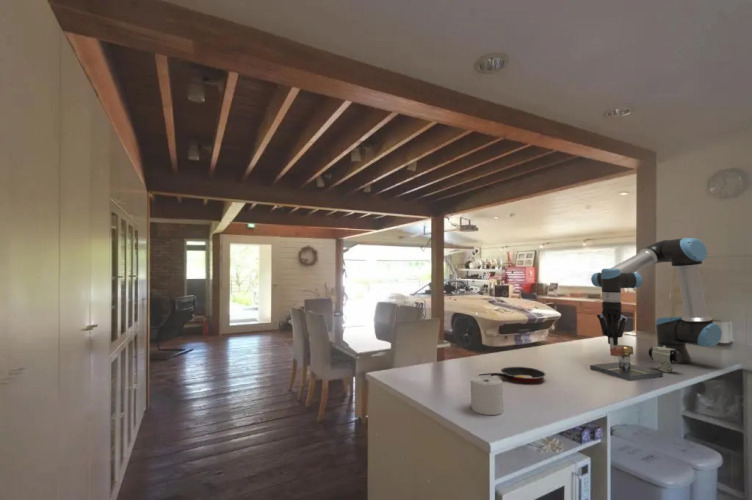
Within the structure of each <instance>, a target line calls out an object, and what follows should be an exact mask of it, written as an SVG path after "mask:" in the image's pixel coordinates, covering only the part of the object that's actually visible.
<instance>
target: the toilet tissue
mask: <svg viewBox="0 0 752 500" xmlns="http://www.w3.org/2000/svg"><path fill="white" fill-rule="evenodd" d="M479 375H480V374H479ZM479 375H475V376H472V377H471V378H470V401H471V403H470V405H471V406H470V407H471V409H472V411H474V412H475V413H477V414H481V415H485V416H486V415H487V416H496V415H497V416H498V415H502V414H503V413H504V397H503V392H504V390H503V389H504V388H503V380H502V379H501V378H497V377H495V376H491V374H490V375H480V376H479Z"/></svg>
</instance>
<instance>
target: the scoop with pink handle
mask: <svg viewBox="0 0 752 500" xmlns="http://www.w3.org/2000/svg"><path fill="white" fill-rule="evenodd" d="M609 351H611V352H610V356H612V357H619V356H620V355H624V354H630V355H633V354H634V347H633V346H630V345H625V344H618V345H616V347H615V348H612V349H610V348H609Z"/></svg>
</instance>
